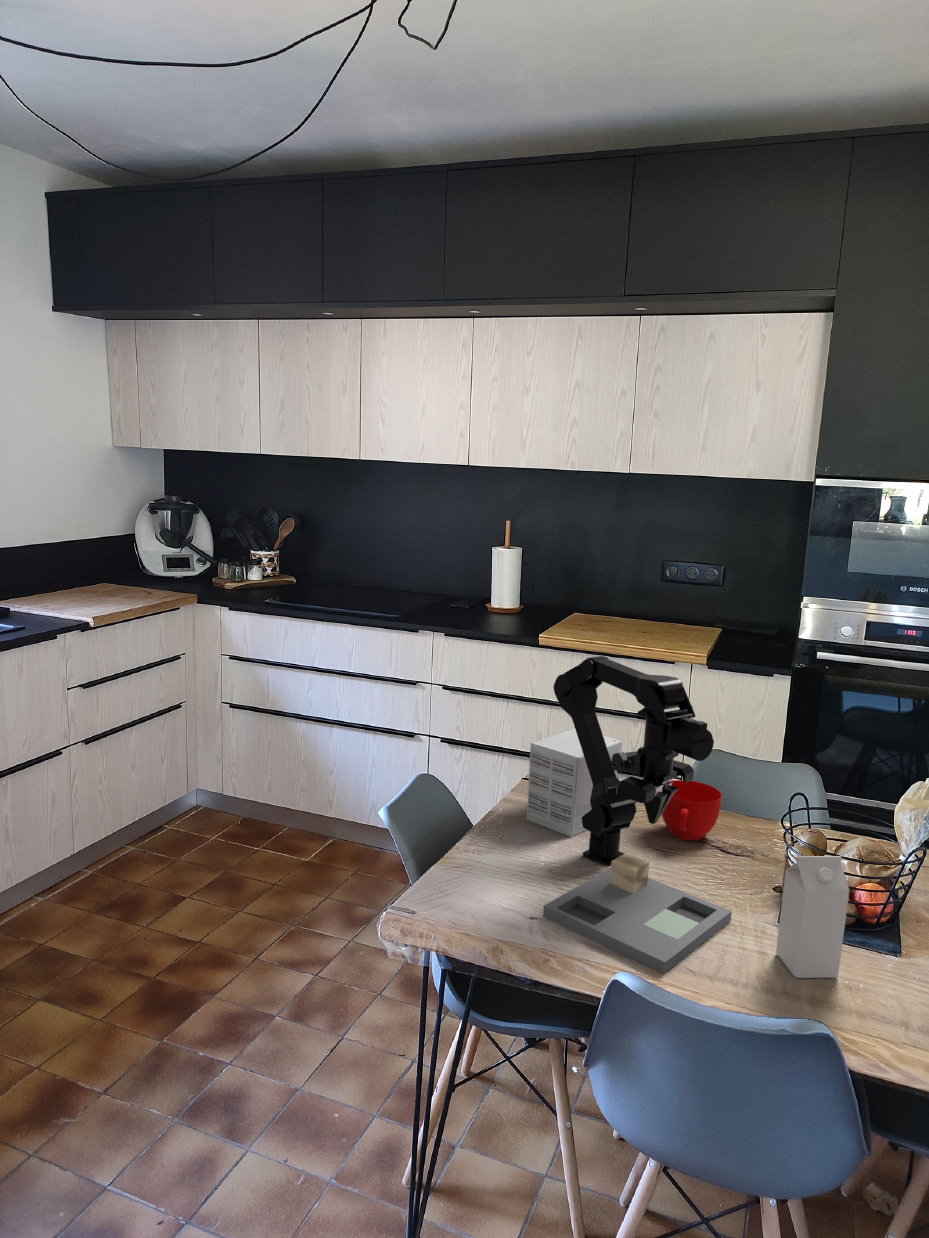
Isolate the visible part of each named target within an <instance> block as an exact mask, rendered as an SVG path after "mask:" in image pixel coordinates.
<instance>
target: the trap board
mask: <svg viewBox="0 0 929 1238" xmlns="http://www.w3.org/2000/svg"><path fill="white" fill-rule="evenodd" d="M610 874H611V867H610V868H608V869H606V870H604V871H602V872H601V873H599V874H598V875H595V876H594V877H592V878H590V879H589V880H586V881H585V882H583V883H581V884H580V885H578V886H576V887H575V888H572V889H571V890H568V891H567V892H565V893H563V894H562V895H560V896H558V897H557V898H555V899H552V900H551V901H550V902H547V903H546V904H544V905H543V912H542V916H543V918H546V919H548V920H550V921H552V922H555V923H557V924H559V925H561V926H562V927H565V928H567V929H569V930H571V931H574V932H576V933H578V934H580V935H582V936H584V937H586V938H588V939H589V940H592V941H594V942H596V943H599V944H600V945H603V946H605V947H607V948H608V949H609V948H610V949H611V950H613V951H615V952H617V953H620V954H622V955H623V956H625V957H628V958H630V959H632V960H634V961H637V963H641V964H642V965H645V966H646V967H648V968H651V969H653V970H655V971H656V972H657V971H658V972H659V973H661V974H666V973H667V972H669V970H671V969H672V968H673V967H675V966H676V965H678V964H679V963H680V962H682V960H684V959H685V958H686V957H687V956H689V955H690V954H691V953H693V952H694V951H695V950H697V949H698V948H699V947H700V946H701V945H703V944H704V943H706V942H707V941H708V940H709V939H711V938H712V937H713V936H714V935H716V934H717V933H719V931H721V930H722V929H723V928H725V927H726V926H727V925H728V924H729V923H730V922H731V920H732V913H733V912H732V910H731V909H727V908H725V907H724V906H723V907H722V906H720V905H717V904H715V903H713V902H710V901H707V900H705V899H704V898H703V899H702V898H699V897H698V896H695V895H693V894H690V893H687V892H685V891H683V890H680V889H677V888H675V887H672V886H669V885H668V884H665V883H663V882H659V881H657V880H655V879H652V878H650V877H648V884H647V885H646V886H644V887H643V888H641V889H640V890H638V891H636V892H635V893H630V892H628V891H626V890H623V889H621V888H619V887H616V886H614V885H611V884H610Z"/></svg>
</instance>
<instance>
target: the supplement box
mask: <svg viewBox="0 0 929 1238" xmlns="http://www.w3.org/2000/svg"><path fill="white" fill-rule="evenodd" d="M603 737H604V740H605V743H606V747H607V750H608V753H609V756H610V759H611V761H612V756H613V754H615V753H621V752H622V746H623V741H622V740H619V739H617V738H612V737H611V736H610V737H609V736H606V735H603ZM529 750H530V751H529V752H530V753H529V766H528V767H529V770H528V772H529V773H528V787H527V808H526V809H527V811H526V820H527V821H530V822H533V823H535V824H537V825H540V826H542V827H544V826H545V828H548V829H550V830H551V831H554V830H555V831H554V832H557V833H560V834H562V835H563V836H564V835H565V836H567V837H570V838H572V837H573V836H576V835H578V834H580V833H583V832H585V831H588V830H587V829H585V828H583V824H582V816H584V815H585V814H586V813H587V812H589V811H590V810H591V809H592V808H591V803H590V797H591V792H592V788H593V784H592V780H591V777H590V774H589V771H588V767H587V764H586V761H585V758H584V755H583V752H582V748H581V745H580V742H579V739H578V736H577V733H576V729H575V727H574V728H571V729H569V730H566V731H563V732H560V733H557V734H555V735H554V734H553V735H551V736H548V737H546V738H542V739H540V740H536V741H534V742H530V749H529ZM614 771H615V770H614ZM615 774H616V777H617V779H618V780H619V781H620V773H619V774H618V773H617V771H615Z"/></svg>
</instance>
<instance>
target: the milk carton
mask: <svg viewBox="0 0 929 1238" xmlns="http://www.w3.org/2000/svg"><path fill="white" fill-rule="evenodd" d="M841 862H842V856H841V855H839V856H838V855H835V856H834V855H832V856H831V855H827V856H826V855H824V856H819V855H817V856H798V860H797V863H796V864H794V865H792V866H791V867H789V868H788V869H786V871H785V880H784V888H783V892H782V896H781V897H782V898H781V899H782V900H781V907H780V908H781V909H780V916H779V924H778V932H777V939H776V940H777V941H776V947H775V948H776V950H775V954H776V955H777V956H778V957H779V959H780V960H781V961H782V962H783V963H784V965H785V966H786V968H787V969H788V970H789V971H790V973H791V974H792V976H793V977H794V978H795V979H826V978H827V979H828V978H829V979H830V978H831V979H834V978H838V977H839V974H840V973H839V971H840V964H841V957H842V949H843V942H844V934H845V926H846V920H847V919H846V918H847V911H848V904H849V896H850V895H849V894H850V888H849V885H848V881H847V878H846V875H845V872H844V868H843V866H842V863H841Z"/></svg>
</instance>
